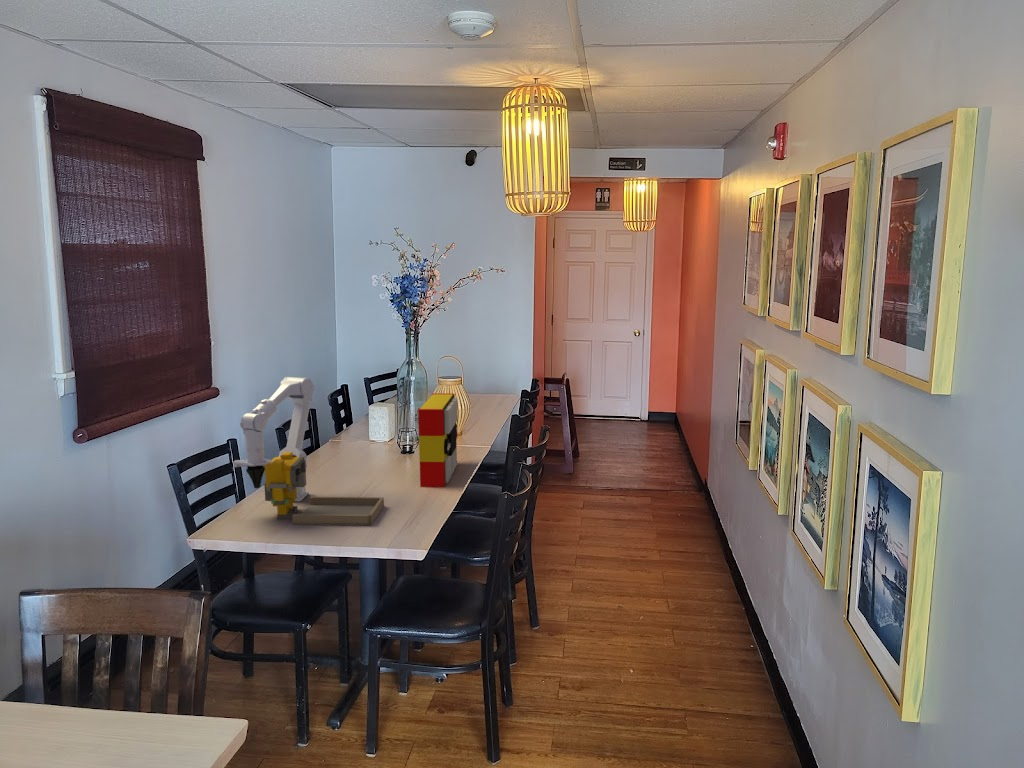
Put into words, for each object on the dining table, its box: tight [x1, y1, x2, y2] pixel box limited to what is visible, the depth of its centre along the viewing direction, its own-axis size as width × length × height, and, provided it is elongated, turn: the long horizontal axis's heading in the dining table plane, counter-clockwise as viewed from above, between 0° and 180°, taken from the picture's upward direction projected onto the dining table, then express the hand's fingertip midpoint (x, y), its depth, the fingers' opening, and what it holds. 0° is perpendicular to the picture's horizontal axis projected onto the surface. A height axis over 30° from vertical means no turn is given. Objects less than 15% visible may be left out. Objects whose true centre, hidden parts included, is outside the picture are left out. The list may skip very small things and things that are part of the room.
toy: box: [263, 452, 307, 520], centre depth 261 cm, size 14×13×20 cm
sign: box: [417, 392, 459, 488], centre depth 305 cm, size 33×11×30 cm, turn 176°
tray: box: [292, 496, 385, 526], centre depth 261 cm, size 19×26×3 cm
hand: (257, 487), depth 262 cm, fingers closed
